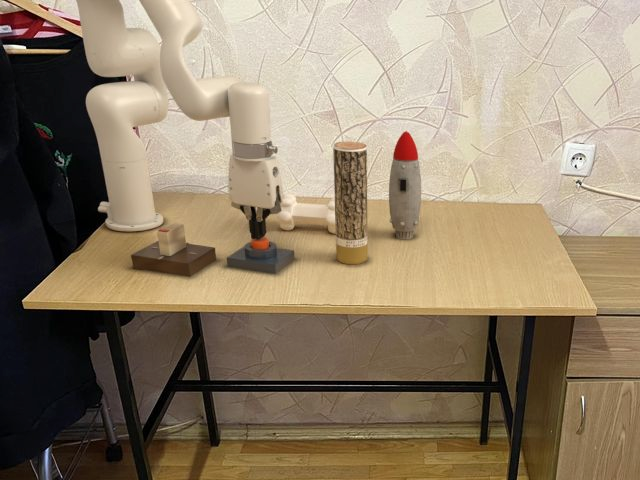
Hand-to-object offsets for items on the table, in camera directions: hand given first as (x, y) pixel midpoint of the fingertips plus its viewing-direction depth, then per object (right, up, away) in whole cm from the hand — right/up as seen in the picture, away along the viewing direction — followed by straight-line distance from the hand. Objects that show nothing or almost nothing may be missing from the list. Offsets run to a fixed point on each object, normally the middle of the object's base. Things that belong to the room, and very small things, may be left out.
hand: (258, 237), depth 151 cm
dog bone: (+7, +5, +23) cm, 25 cm away
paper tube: (+19, -4, +7) cm, 20 cm away
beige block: (-17, -3, -2) cm, 17 cm away
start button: (0, -2, +1) cm, 2 cm away
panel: (-17, -6, -1) cm, 18 cm away
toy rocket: (+29, +3, +23) cm, 37 cm away
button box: (0, -5, +3) cm, 6 cm away
